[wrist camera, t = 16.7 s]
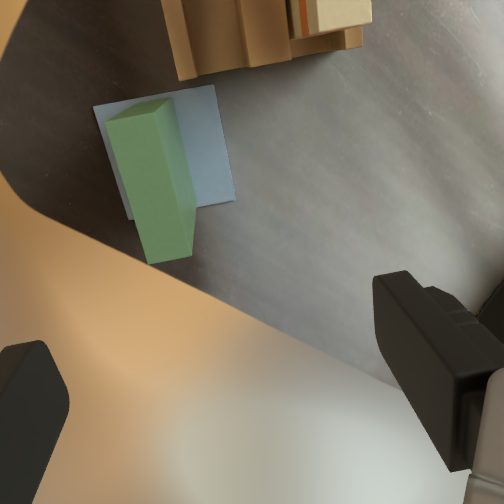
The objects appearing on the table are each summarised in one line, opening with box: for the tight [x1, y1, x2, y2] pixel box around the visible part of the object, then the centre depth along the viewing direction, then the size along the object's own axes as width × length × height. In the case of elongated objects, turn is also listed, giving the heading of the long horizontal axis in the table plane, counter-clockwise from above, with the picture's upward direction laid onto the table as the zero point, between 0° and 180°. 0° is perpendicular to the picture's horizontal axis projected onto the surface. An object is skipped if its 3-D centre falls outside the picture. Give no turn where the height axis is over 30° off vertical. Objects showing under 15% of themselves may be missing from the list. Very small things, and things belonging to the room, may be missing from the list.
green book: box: [104, 97, 197, 264], centre depth 37 cm, size 4×11×14 cm, turn 10°
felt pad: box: [93, 84, 236, 220], centre depth 44 cm, size 12×12×1 cm
